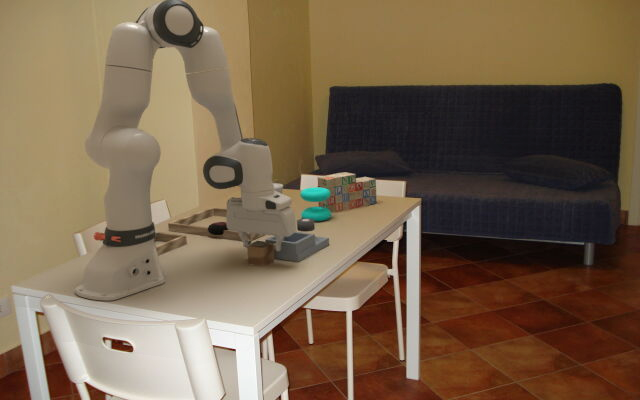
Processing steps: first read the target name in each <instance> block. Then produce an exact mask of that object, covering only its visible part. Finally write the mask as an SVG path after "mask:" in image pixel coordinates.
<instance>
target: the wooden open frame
mask: <svg viewBox="0 0 640 400" xmlns="http://www.w3.org/2000/svg"><path fill="white" fill-rule="evenodd" d="M213 216H218V217H219V216H220V217H226V218H227V208H224V207H223V208H221V207H215V206H213V207H210V208H207V209H205V210H201V211H199V212H196V213H193V214H191V215H188V216H185V217H181V218H179V219H176V220H173V221H171V222H168V223H167V227H168V232H175V233H182V234H183V233H184V234H190V235H197V236H198V235H199V236H202V237H203V236H204V237H205V236H206V237H211V238H219V239H225V240H226V239H227V240H232V241H233V240H234V241H239V242H240V241H241V242H243V241H242V239H241V238H240V236H239V232H236V231H229V230H225V231H224V233H223V234H222V235H213V234H211V233H209V231H208V227H209V226H208V227H207V226H198V225H192V224H194V223H196V222H200V221H202V220H206V219H208V218H210V217H213ZM191 223H192V224H191ZM246 235H247V237H248V239H249V240H251V242H252V241H254V240H257V239H259V238H261V237H263V236H265V234H255V233H247V234H246Z"/></svg>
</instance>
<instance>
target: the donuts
mask: <svg viewBox="0 0 640 400" xmlns="http://www.w3.org/2000/svg"><path fill="white" fill-rule="evenodd" d="M329 197H330V191H329V190H328V189H326V188H321V187H318V186H316V187H308V188H304V189H302V190H301V192H300V198H301V199H302V200H304V201H305V202H308V203H319V202H320V201H324V200H326V199H328V198H329ZM300 215H301V219H313V220H314V223H315V222H323V221H327V220H329V219H330V218H331V216H332V213H331V212H330V210H329V209H327V208H325V207H319V205H317V206H310V207H306V208H305V209H303V210H302V212H301V214H300Z"/></svg>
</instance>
